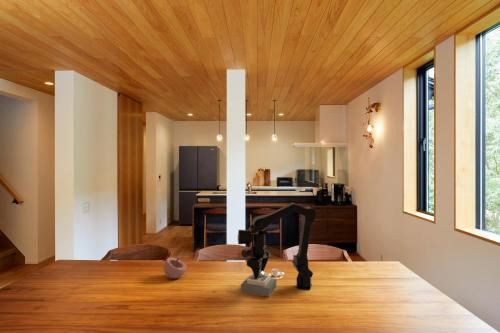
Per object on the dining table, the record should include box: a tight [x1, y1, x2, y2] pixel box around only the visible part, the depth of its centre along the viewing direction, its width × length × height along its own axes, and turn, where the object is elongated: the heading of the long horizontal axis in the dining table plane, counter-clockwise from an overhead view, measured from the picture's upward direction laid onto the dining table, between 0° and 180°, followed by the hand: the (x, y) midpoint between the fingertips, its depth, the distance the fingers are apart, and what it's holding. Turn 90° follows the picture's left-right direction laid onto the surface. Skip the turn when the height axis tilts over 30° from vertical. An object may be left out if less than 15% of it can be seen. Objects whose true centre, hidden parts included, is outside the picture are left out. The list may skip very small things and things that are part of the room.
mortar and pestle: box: [163, 256, 187, 279], centre depth 165 cm, size 12×12×11 cm
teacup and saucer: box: [268, 268, 285, 280], centre depth 167 cm, size 9×8×4 cm
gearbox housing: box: [240, 273, 277, 298], centre depth 149 cm, size 14×12×6 cm
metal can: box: [254, 269, 266, 281], centre depth 150 cm, size 5×5×8 cm
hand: (259, 275), depth 149 cm, fingers open, 9 cm apart
